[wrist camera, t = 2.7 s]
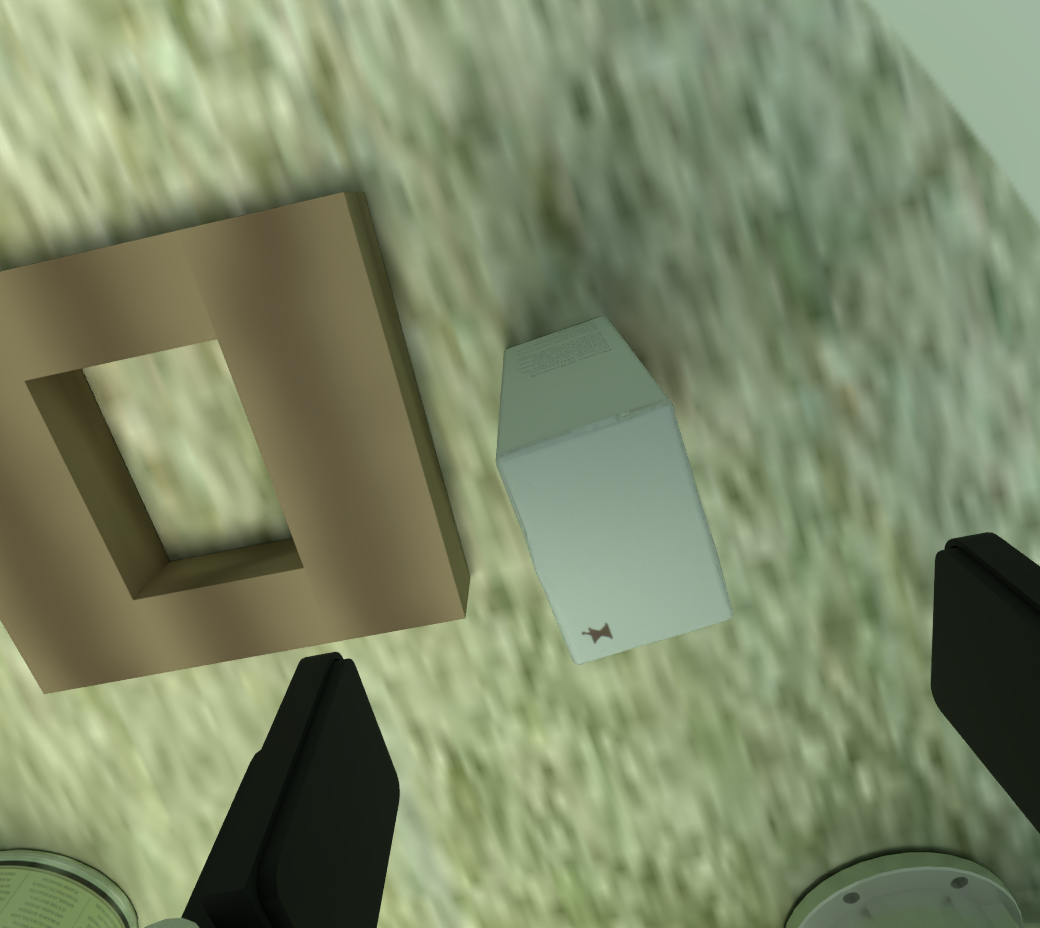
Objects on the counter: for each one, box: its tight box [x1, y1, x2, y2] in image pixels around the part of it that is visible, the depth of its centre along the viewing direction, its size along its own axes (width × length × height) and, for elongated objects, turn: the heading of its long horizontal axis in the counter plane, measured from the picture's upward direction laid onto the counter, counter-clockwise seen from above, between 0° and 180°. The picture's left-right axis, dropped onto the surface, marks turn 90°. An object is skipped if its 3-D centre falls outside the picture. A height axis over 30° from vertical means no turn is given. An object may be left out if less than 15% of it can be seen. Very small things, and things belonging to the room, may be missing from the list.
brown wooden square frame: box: [0, 192, 470, 694], centre depth 26 cm, size 18×16×3 cm
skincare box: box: [496, 316, 733, 665], centre depth 21 cm, size 6×4×12 cm
